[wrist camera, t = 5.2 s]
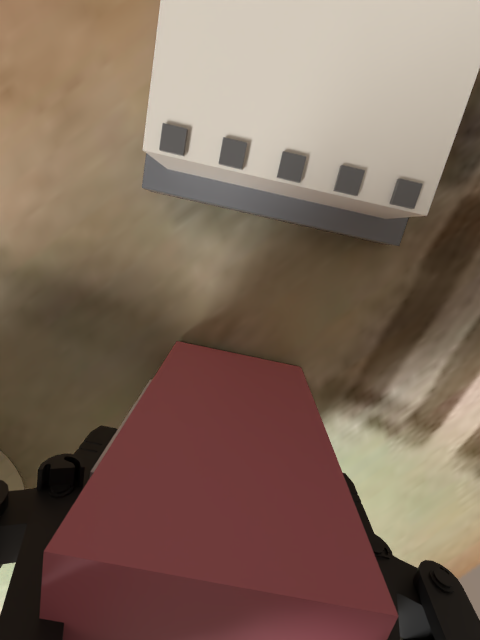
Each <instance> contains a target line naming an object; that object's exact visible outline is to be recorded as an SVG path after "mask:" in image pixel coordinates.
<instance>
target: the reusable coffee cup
mask: <svg viewBox="0 0 480 640" xmlns="http://www.w3.org/2000/svg"><path fill="white" fill-rule="evenodd" d="M0 480H3V481H4V482H5V483H6V484H8V489H9V491H14V490H25V489H24V485H23V482H22V479H21V477H20V475H19V473H18V471H17V469H16V467H15V466H14V465H13V464H12V462H11V461H10V460H9V458H8V457H7V456H6V455H5V454H3V453H2V452H1V451H0Z"/></svg>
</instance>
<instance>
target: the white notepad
mask: <svg viewBox="0 0 480 640" xmlns="http://www.w3.org/2000/svg"><path fill="white" fill-rule="evenodd" d="M479 68H480V0H161V2H160V10H159V19H158V27H157V35H156V44H155V52H154V60H153V68H152V77H151V85H150V93H149V102H148V110H147V118H146V127H145V135H144V143H143V151H144V152H146V160H145V168H144V176H143V184H142V188H144V189H146V190H149V191H151V192H156V193H160V194H165V195H169V196H173V197H178V198H182V199H187V200H191V201H196V202H200V203H204V204H209V205H213V206H218V207H222V208H227V209H231V210H235V211H240V212H244V213H249V214H253V215H257V216H262V217H266V218H271V219H275V220H280V221H284V222H288V223H293V224H297V225H302V226H306V227H311V228H315V229H319V230H324V231H328V232H333V233H337V234H341V235H346V236H350V237H355V238H359V239H364V240H368V241H372V242H377V243H381V244H386V245H395V246H399V245H400V242H401V239H402V236H403V233H404V230H405V227H406V225H407V222H408V219H409V217H418V216H427V214H428V212H429V209H430V206H431V203H432V200H433V198H434V195H435V192H436V189H437V186H438V184H439V181H440V178H441V175H442V172H443V170H444V167H445V164H446V161H447V158H448V155H449V153H450V150H451V147H452V144H453V141H454V139H455V136H456V133H457V130H458V127H459V125H460V122H461V119H462V116H463V113H464V111H465V108H466V105H467V102H468V99H469V97H470V94H471V91H472V88H473V85H474V83H475V80H476V77H477V74H478V71H479Z"/></svg>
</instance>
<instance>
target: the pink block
mask: <svg viewBox="0 0 480 640" xmlns="http://www.w3.org/2000/svg"><path fill="white" fill-rule="evenodd" d="M39 618H41V619H46V620H52V621H58V622H63V623H64V631H63V640H387V639H388V637H389V635H390V633H391V631H392V629H393V626H394V624H395V622H396V620H397V618H398V613H397V611H396V608H395V606H394V603H393V601H392V598H391V596H390V593H389V590H388V588H387V585H386V583H385V580H384V578H383V575H382V573H381V570H380V568H379V565H378V562H377V560H376V557H375V555H374V552H373V550H372V547H371V545H370V542H369V539H368V537H367V534H366V532H365V529H364V527H363V524H362V522H361V519H360V516H359V514H358V511H357V509H356V506H355V504H354V501H353V499H352V496H351V493H350V491H349V488H348V486H347V483H346V481H345V478H344V476H343V473H342V470H341V468H340V465H339V463H338V460H337V458H336V455H335V453H334V450H333V447H332V445H331V442H330V440H329V437H328V435H327V432H326V430H325V427H324V424H323V422H322V419H321V417H320V414H319V412H318V409H317V407H316V404H315V401H314V399H313V396H312V394H311V391H310V389H309V386H308V384H307V381H306V379H305V376H304V373H303V371H302V368H301V367H298V366H294V365H289V364H284V363H279V362H275V361H270V360H265V359H260V358H256V357H251V356H246V355H241V354H236V353H232V352H227V351H222V350H217V349H213V348H208V347H203V346H198V345H193V344H189V343H184V342H179V341H176V343H175V345H174V346H173V348H172V349H171V351H170V352H169V354H168V356H167V357H166V359H165V360H164V362H163V364H162V365H161V367H160V368H159V370H158V371H157V373H156V375H155V376H154V378H153V379H152V381H151V383H150V384H149V386H148V387H147V389H146V390H145V392H144V394H143V395H142V397H141V398H140V400H139V402H138V403H137V405H136V406H135V408H134V409H133V411H132V413H131V414H130V416H129V417H128V419H127V420H126V422H125V424H124V425H123V427H122V428H121V430H120V432H119V433H118V435H117V436H116V438H115V439H114V441H113V443H112V444H111V446H110V447H109V449H108V451H107V452H106V454H105V455H104V457H103V458H102V460H101V462H100V463H99V465H98V466H97V468H96V470H95V471H94V473H93V474H92V476H91V477H90V479H89V481H88V482H87V484H86V485H85V487H84V488H83V490H82V492H81V493H80V495H79V496H78V498H77V500H76V501H75V503H74V504H73V506H72V507H71V509H70V511H69V512H68V514H67V515H66V517H65V519H64V520H63V522H62V523H61V525H60V526H59V528H58V530H57V531H56V533H55V534H54V536H53V538H52V539H51V541H50V542H49V544H48V545H47V547H46V549H45V550H44V555H43V570H42V586H41V601H40V617H39Z"/></svg>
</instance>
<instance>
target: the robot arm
mask: <svg viewBox="0 0 480 640" xmlns="http://www.w3.org/2000/svg"><path fill="white" fill-rule="evenodd" d="M151 381H152V380H151V379H150V380H149V382H148V383H147V385H146V386H145V388H144V390H143V391H142V393H141V394H140V396H139V397H138V399H137V400H136V402H135V403H134V405H133V407H132V408H131V410H130V411H129V413H128V414H127V416H126V417H125V419H124V420H123V422H122V424H121V425H120V427H119V428H118V429H116V428H111V427H105V426H100V427H98V428H97V429H95V430H93V431H92V432H90V434H89V435H88V436H87V438H86V439H85V440H84V442H83V443H82V444H81V445H80V447H79V449H77V451H76V452H75V453H74V454H61V455H56V456H53V457H51V458H49V459H47V460H46V461H45V462H43V463H42V464H41V466H40V467H39V469H38V480H37V488H34V489H27V490H14V491H9V489H8V484H6V483H5V482H4V481H3V480H0V568H1V566H2V565H3V564H7V563H14V562H16V564H15V567H14V571H13V574H12V577H11V581H10V584H9V588H8V591H7V594H6V598H5V601H4V605H3V608H2V611H1V615H0V640H63V631H64V623H63V622H58V621H52V620H46V619H41V618H39V617H40V601H41V586H42V570H43V555H44V550H45V549H46V547H47V545H48V544H49V542H50V541H51V539H52V538H53V536H54V534H55V533H56V531H57V530H58V528H59V526H60V525H61V523H62V522H63V520H64V519H65V517H66V515H67V514H68V512H69V511H70V509H71V507H72V506H73V504H74V503H75V501H76V500H77V498H78V496H79V495H80V493H81V492H82V490H83V488H84V487H85V485H86V484H87V482H88V481H89V479H90V477H91V476H92V474H93V473H94V471H95V470H96V468H97V466H98V465H99V463H100V462H101V460H102V458H103V457H104V455H105V454H106V452H107V451H108V449H109V447H110V446H111V444H112V443H113V441H114V439H115V438H116V436H117V435H118V433H119V432H120V430H121V428H122V427H123V425H124V424H125V422H126V420H127V419H128V417H129V416H130V414H131V413H132V411H133V409H134V408H135V406H136V405H137V403H138V402H139V400H140V398H141V397H142V395H143V394H144V392H145V390H146V389H147V387H148V386H149V384H150V383H151ZM343 476H344V478H345V481H346V483H347V486H348V488H349V491H350V493H351V496H352V499H353V501H354V504H355V506H356V509H357V511H358V514H359V516H360V519H361V522H362V524H363V527H364V529H365V532H366V534H367V537H368V539H369V542H370V545H371V547H372V550H373V552H374V555H375V557H376V560H377V562H378V565H379V568H380V570H381V573H382V575H383V578H384V580H385V583H386V585H387V588H388V590H389V593H390V596H391V598H392V601H393V603H394V606H395V608H396V611H397V613H398V618H397V620H396V622H395V624H394V626H393V629H392V631H391V633H390V635H389V637H388V639H387V640H480V620H479V619H478V616H477V614H476V613H475V611H474V609H473V607H472V605H471V603H470V601H469V599H468V597H467V595H466V593H465V591H464V589H463V587H462V585H461V584H460V582H459V581H458V579H457V578H456V577H455V576H454V575H453V574H452V573H451V572H450V571H449V570H448V569H446V568H445V567H443V566H442V565H440V564H438V563H436V562H434V561H428V560H425V561H423V562H421V563H420V565H419V567H418V568H416V567H414V566H412V565H410V564H408V563H406V562H404V561H402V560H400V559H398V558H396V557H394V556H393V555H392V551H391V550H390V548H389V547H388V545H387V544H386V543H385V542H384V541H383V540H382V539H381V538H380V537H378V536H377V535H375V534H374V532H373V529H372V527H371V525H370V522H369V520H368V517H367V515H366V512H365V510H364V508H363V505H362V504H361V500H360V498H359V496H358V495H357V494H358V493H357V491H356V488H355V486H354V484H353V482H352V481H351V480H350V479H349V477H348V476H347V475H346V474H345V473H343Z"/></svg>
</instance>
